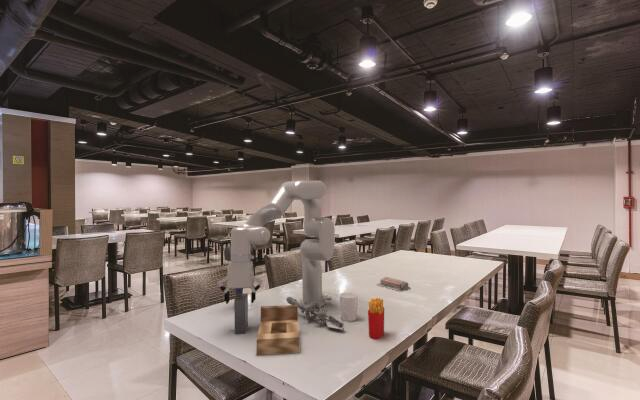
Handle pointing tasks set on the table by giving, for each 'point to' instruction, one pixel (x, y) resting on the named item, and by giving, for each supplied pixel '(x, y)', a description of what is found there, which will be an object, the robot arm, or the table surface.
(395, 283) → the packaged product
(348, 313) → the white cup
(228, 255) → the rubber mallet
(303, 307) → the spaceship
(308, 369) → the table surface
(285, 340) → the wooden frame stool
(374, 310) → the french fries
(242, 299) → the brushed grey post
